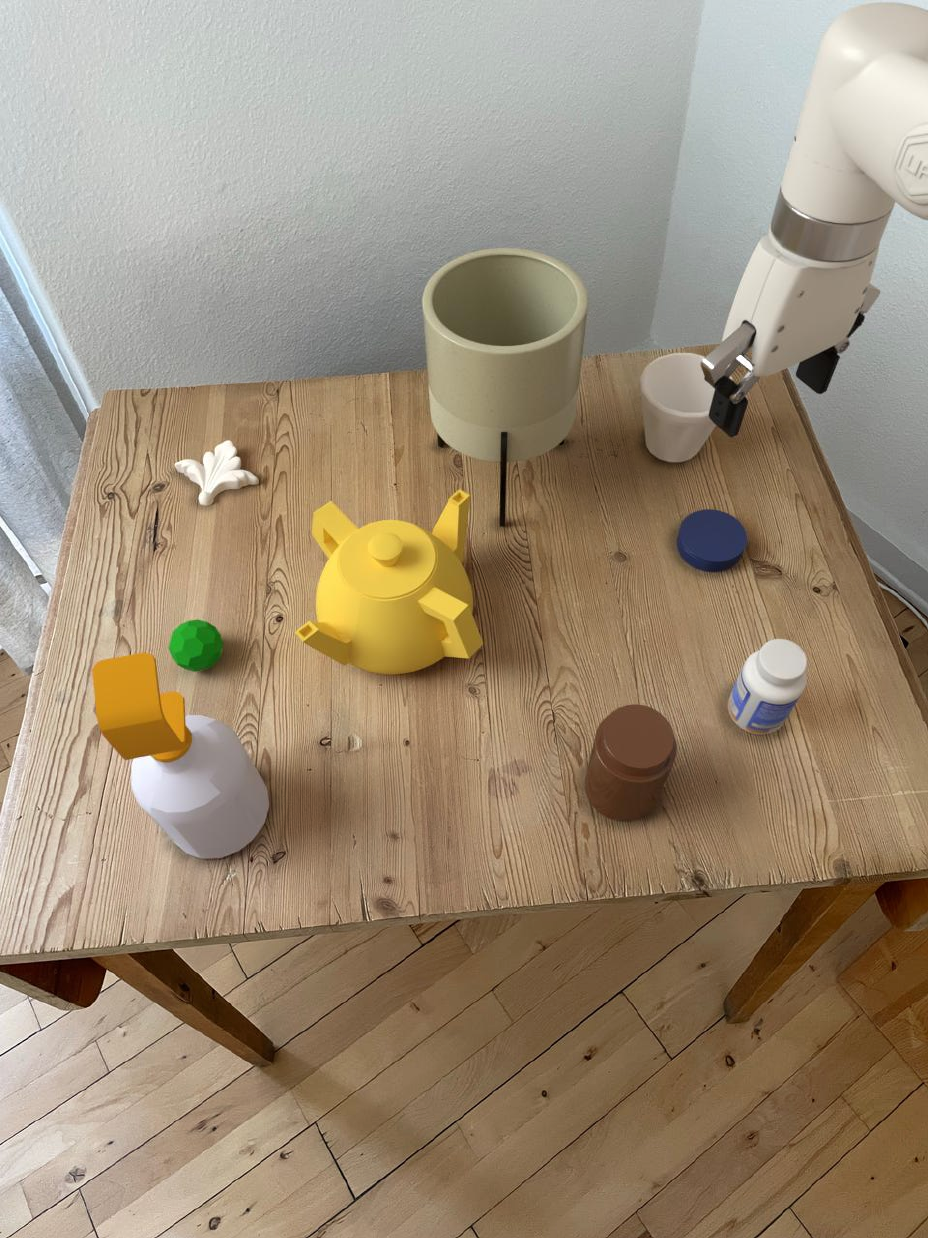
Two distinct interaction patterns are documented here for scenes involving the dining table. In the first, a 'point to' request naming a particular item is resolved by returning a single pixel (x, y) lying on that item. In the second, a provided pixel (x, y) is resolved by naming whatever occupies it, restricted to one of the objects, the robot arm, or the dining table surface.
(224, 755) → the soap bottle
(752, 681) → the pill bottle
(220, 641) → the polyhedron
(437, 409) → the planter
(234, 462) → the acanthus leaf ornament
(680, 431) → the cup
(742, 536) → the jar lid
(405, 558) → the teapot
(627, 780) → the jam jar
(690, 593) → the dining table surface
